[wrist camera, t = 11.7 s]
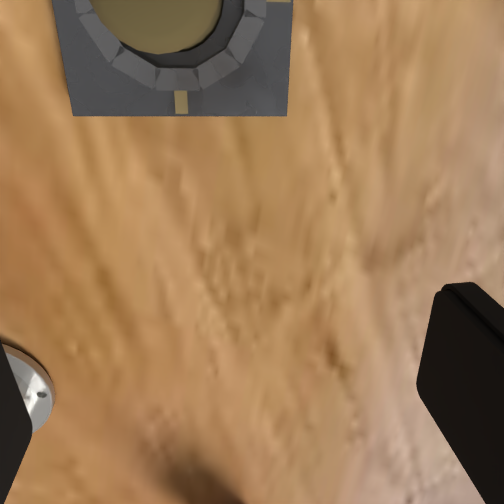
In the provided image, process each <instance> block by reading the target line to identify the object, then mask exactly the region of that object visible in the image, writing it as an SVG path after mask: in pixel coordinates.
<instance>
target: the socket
mask: <svg viewBox="0 0 504 504" xmlns="http://www.w3.org/2000/svg"><path fill="white" fill-rule="evenodd" d="M52 4H53V9H54V15H55V20H56V26H57V31H58V37H59V42H60V48H61V53H62V58H63V64H64V69H65V75H66V80H67V86H68V91H69V97H70V102H71V107H72V113H73V116H287V104H288V85H289V67H290V49H291V31H292V13H293V0H224V2H223V9H222V16H221V18H220V21H219V23H218V25H217V27H216V29H215V32H214V33H213V34H212V35H211V36H210V37H209V38H208V39H207V40H206V41H205V43H204V44H202V45H200V46H198V47H196V48H194V49H192V50H190V51H185V52H177V53H173V52H172V53H164V54H153V53H148V52H143V51H138V50H136V49H134V48H132V47H131V46H129V45H127V44H125V43H124V42H122V41H120V40H118V39H117V38H116V37H115V36H114V35H113V34H112V33H111V32H110V31H109V30H108V29H107V28H106V27H105V26H104V25H103V24H102V23H101V21H100V19H99V17H98V16H97V14H96V12H95V10H94V9H93V7H92V5H91V3H90V1H89V0H52Z"/></svg>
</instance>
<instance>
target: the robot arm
mask: <svg viewBox="0 0 504 504" xmlns="http://www.w3.org/2000/svg"><path fill="white" fill-rule="evenodd" d="M416 385H417V391H418V394H419V396H420V398H421V400H422V401H423V403H424V404H425V406H426V408H427V409H428V411H429V413H430V414H431V416H432V417H433V419H434V421H435V422H436V424H437V426H438V427H439V429H440V430H441V432H442V434H443V435H444V437H445V439H446V440H447V442H448V443H449V445H450V447H451V448H452V450H453V451H454V453H455V455H456V456H457V458H458V460H459V461H460V463H461V464H462V466H463V468H464V469H465V471H466V473H467V474H468V476H469V477H470V479H471V481H472V482H473V484H474V486H475V487H476V489H477V490H478V492H479V494H480V495H481V497H482V499H483V500H484V502H485V503H486V504H504V308H503V307H502V306H501V305H499V304H498V303H497V302H496V301H495V300H494V299H493V298H492V297H490V296H489V295H488V294H487V293H486V292H485V291H484V290H482V289H481V288H480V287H479V286H478V285H477V284H475V283H473V282H464V283H452V284H446V285H444V286H443V287H442V289H441V291H438V292H437V293H436V294H435V297H434V301H433V305H432V310H431V315H430V319H429V324H428V329H427V333H426V338H425V343H424V347H423V352H422V357H421V361H420V366H419V371H418V376H417V381H416ZM54 403H55V391H54V386H53V383H52V381H51V379H50V377H49V375H48V374H47V373H46V372H45V371H44V369H43V368H42V367H41V366H40V365H39V364H38V363H37V362H35V361H34V360H33V359H32V358H30V357H29V356H27V355H26V354H24V353H22V352H21V351H19V350H17V349H14V348H12V347H10V346H8V345H4V344H2V343H1V340H0V504H4V502H5V500H6V497H7V495H8V493H9V490H10V488H11V486H12V483H13V481H14V478H15V476H16V474H17V471H18V469H19V466H20V464H21V462H22V459H23V457H24V455H25V452H26V450H27V447H28V445H29V443H30V440H31V437H32V433H34V432H35V431H37V430H38V429H39V428H41V427H42V426H43V424H44V423H45V422H46V421H47V419H48V418H49V416H50V414H51V411H52V408H53V406H54Z"/></svg>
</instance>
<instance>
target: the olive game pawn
mask: <svg viewBox="0 0 504 504" xmlns="http://www.w3.org/2000/svg"><path fill="white" fill-rule="evenodd" d="M89 1H90V3H91V5H92V7H93V9H94V10H95V12H96V14H97V16H98V17H99V19H100V21H101V23H102V24H103V25H104V26H105V27H106V28H107V29H108V30H109V31H110V32H111V33H112V34H113V35H114V36H115V37H116V38H117V39H118V40H120V41H122V42H124V43H125V44H127V45H129V46H131V47H132V48H134V49H136V50H138V51H143V52H148V53H153V54H164V53H172V52H173V53H177V52H185V51H190V50H192V49H194V48H196V47H198V46H200V45H202V44H204V43H205V41H206V40H207V39H208V38H209V37H210V36H211V35H212V34H213V33H214V32H215V29H216V27H217V25H218V23H219V21H220V18H221V16H222V9H223V2H224V0H89Z"/></svg>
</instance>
